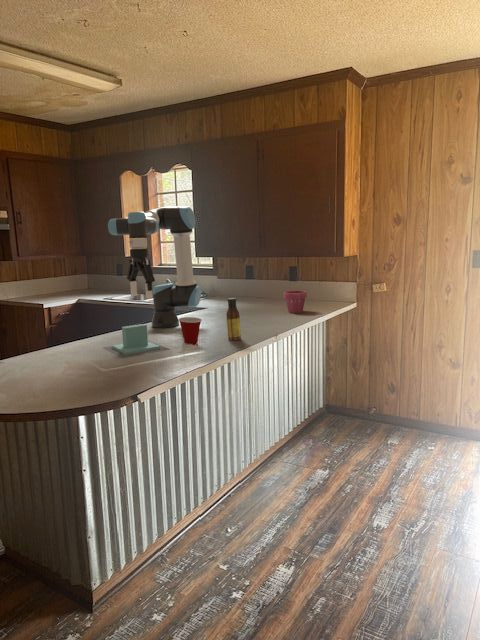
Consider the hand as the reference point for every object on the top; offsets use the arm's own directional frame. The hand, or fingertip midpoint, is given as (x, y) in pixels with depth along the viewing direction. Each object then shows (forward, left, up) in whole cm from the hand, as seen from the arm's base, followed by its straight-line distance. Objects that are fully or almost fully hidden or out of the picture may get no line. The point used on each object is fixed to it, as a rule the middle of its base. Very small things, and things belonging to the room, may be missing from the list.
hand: (141, 297), depth 216 cm
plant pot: (-28, +115, -24) cm, 121 cm away
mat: (-1, -4, -24) cm, 24 cm away
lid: (-1, -4, -23) cm, 23 cm away
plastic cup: (+5, +21, -24) cm, 32 cm away
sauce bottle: (+11, +41, -24) cm, 49 cm away
